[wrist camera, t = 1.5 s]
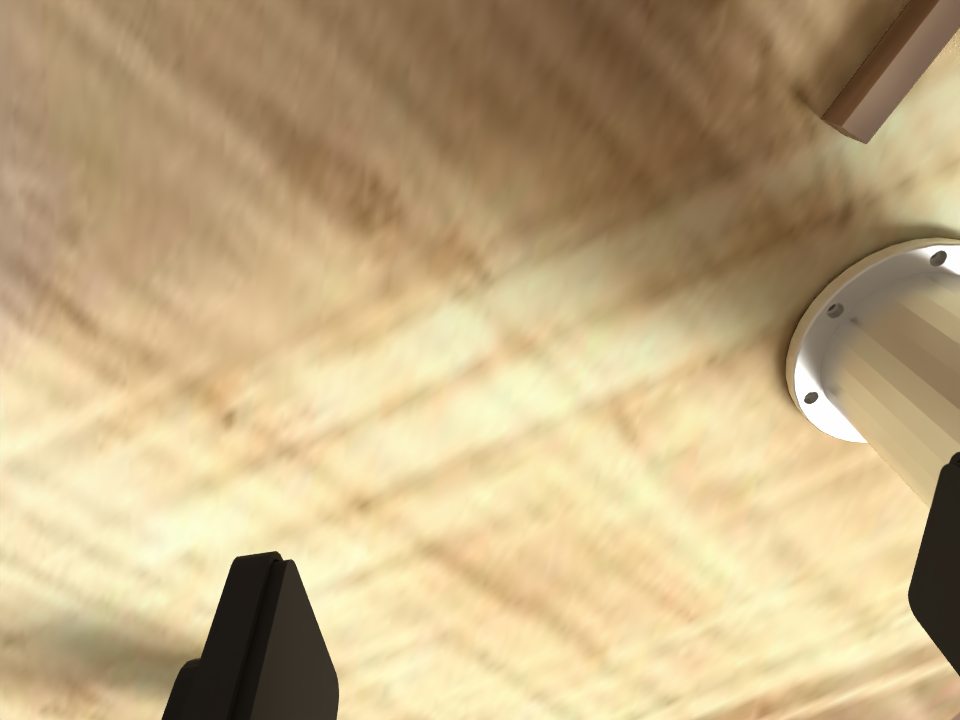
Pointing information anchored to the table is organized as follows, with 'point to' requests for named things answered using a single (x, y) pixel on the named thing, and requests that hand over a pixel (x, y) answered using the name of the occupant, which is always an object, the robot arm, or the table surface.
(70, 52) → the table surface
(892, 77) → the track
